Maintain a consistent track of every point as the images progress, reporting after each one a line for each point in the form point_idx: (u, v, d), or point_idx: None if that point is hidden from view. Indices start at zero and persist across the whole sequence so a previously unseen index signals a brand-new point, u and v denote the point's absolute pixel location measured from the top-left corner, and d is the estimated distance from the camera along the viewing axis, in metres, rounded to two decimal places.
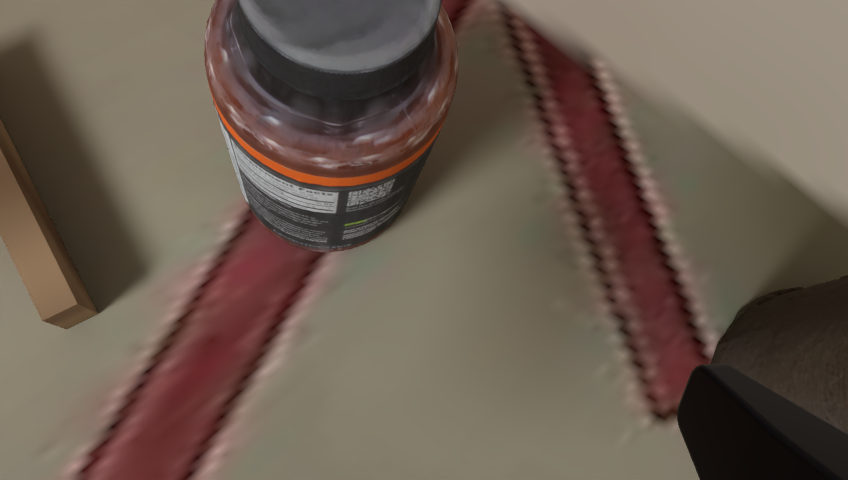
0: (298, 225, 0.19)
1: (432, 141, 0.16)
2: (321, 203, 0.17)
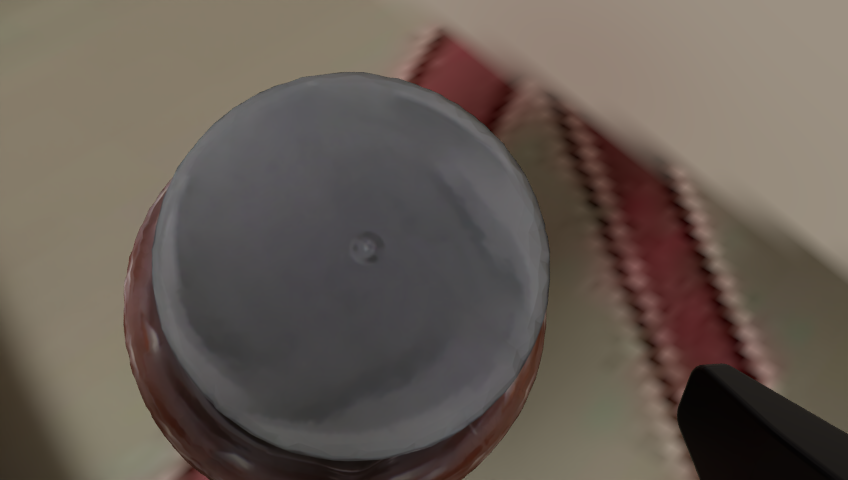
0: None
1: None
2: None
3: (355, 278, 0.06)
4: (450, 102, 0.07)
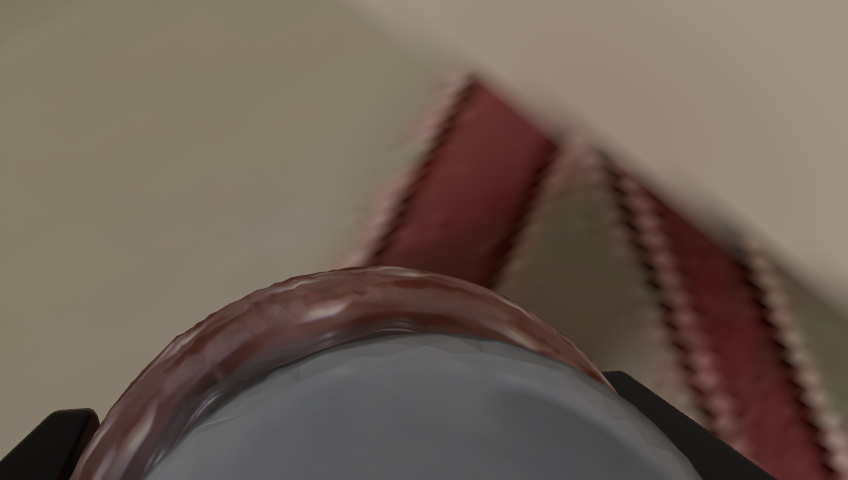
0: None
1: None
2: None
3: None
4: (594, 385, 0.04)
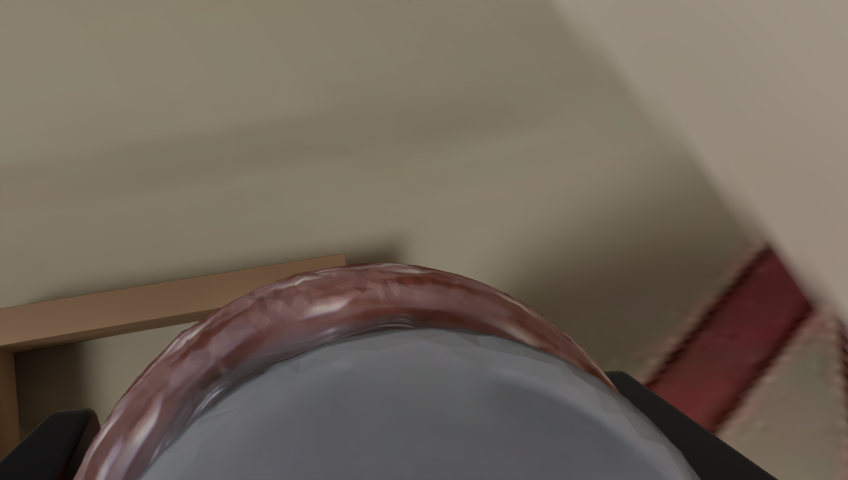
0: None
1: None
2: None
3: None
4: (588, 377, 0.04)
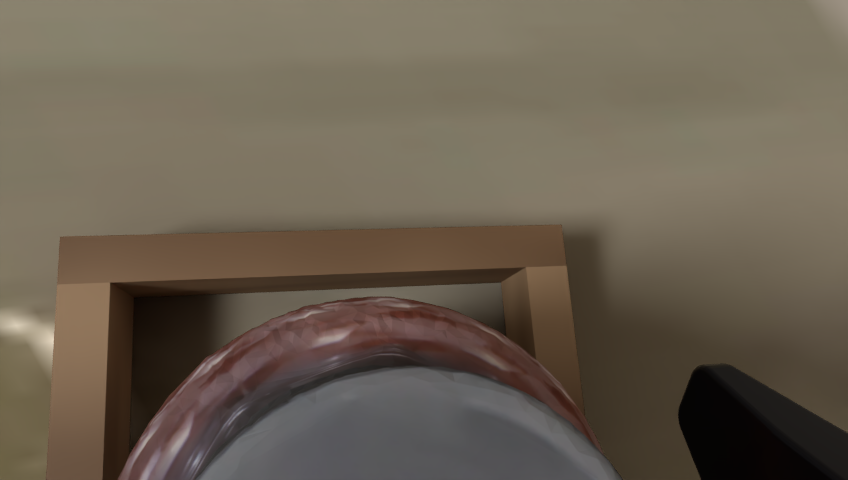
0: None
1: None
2: None
3: None
4: (538, 406, 0.05)
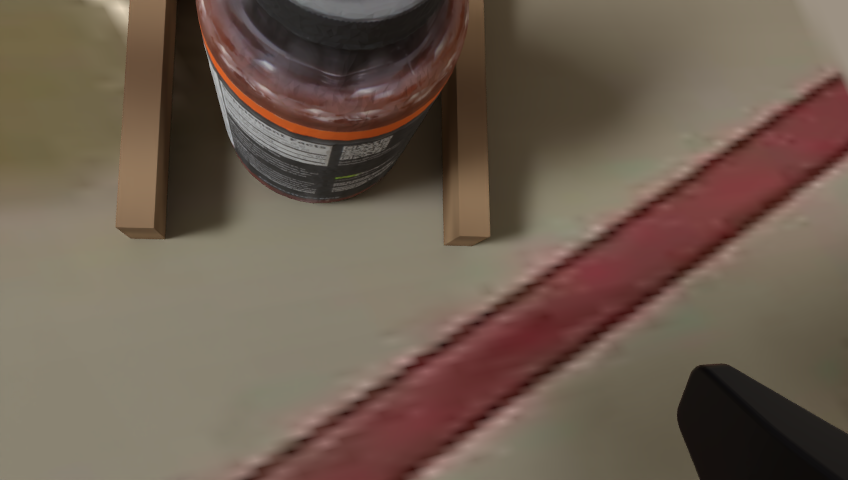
0: (286, 175, 0.18)
1: (435, 98, 0.15)
2: (313, 155, 0.16)
3: None
4: None
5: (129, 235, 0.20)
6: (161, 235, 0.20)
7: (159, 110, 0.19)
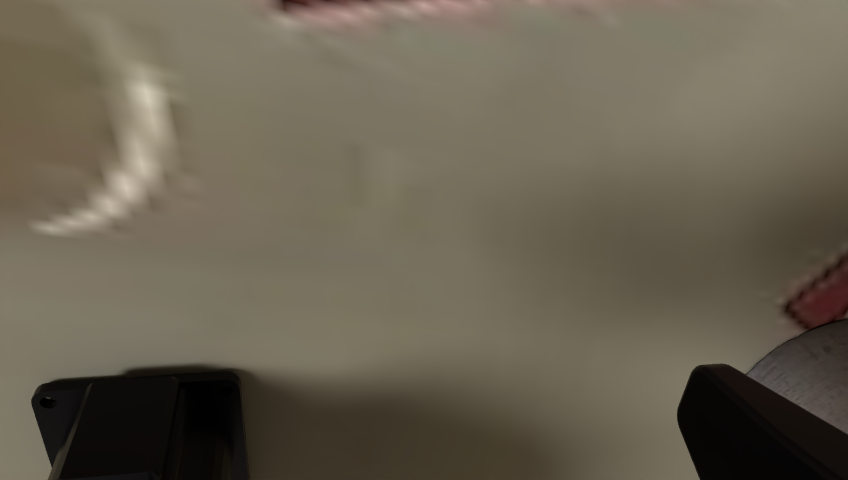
0: None
1: None
2: None
3: None
4: None
5: None
6: None
7: None
